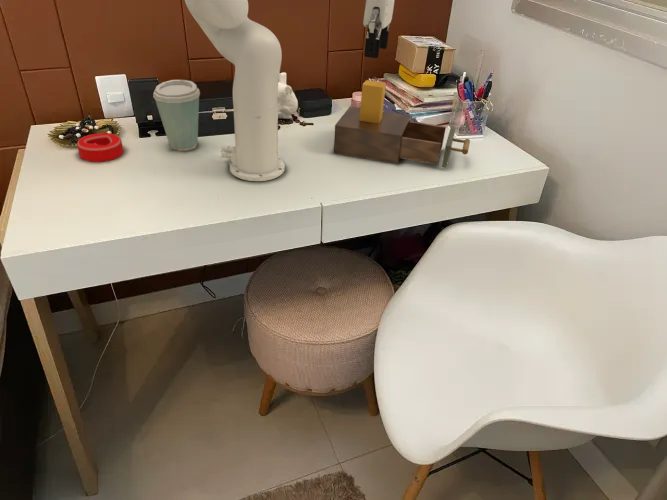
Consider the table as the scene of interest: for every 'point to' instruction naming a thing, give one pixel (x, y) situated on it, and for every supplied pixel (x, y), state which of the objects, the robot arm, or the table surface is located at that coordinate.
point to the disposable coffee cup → (179, 112)
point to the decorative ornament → (100, 147)
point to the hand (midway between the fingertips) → (375, 52)
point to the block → (372, 101)
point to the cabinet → (370, 136)
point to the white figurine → (286, 99)
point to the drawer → (428, 143)
